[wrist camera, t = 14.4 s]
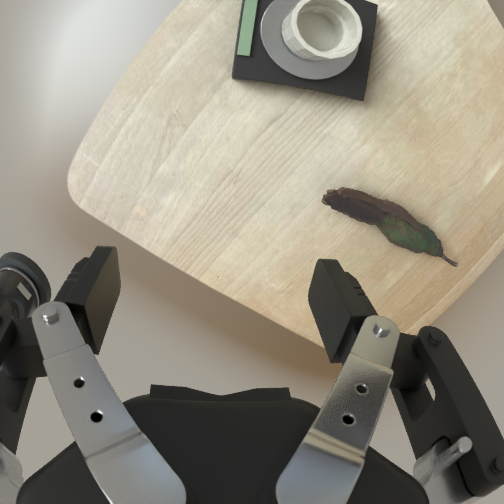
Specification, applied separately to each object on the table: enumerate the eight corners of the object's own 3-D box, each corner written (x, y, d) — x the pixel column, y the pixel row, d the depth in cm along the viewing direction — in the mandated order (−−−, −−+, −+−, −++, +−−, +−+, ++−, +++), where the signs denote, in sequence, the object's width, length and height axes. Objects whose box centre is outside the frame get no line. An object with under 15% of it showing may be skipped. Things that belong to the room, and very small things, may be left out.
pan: (253, 70, 27) (254, 70, 26) (266, -17, 22) (267, -19, 21) (349, 88, 28) (352, 88, 27) (361, 6, 23) (364, 4, 22)
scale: (231, 78, 29) (231, 78, 27) (245, -20, 23) (247, -28, 20) (354, 99, 31) (365, 101, 28) (368, 8, 25) (380, 3, 22)
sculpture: (327, 160, 35) (342, 173, 31) (461, 247, 43) (477, 263, 39) (307, 194, 37) (318, 211, 33) (444, 269, 45) (460, 287, 41)
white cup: (277, 54, 25) (287, 49, 21) (284, 0, 22) (296, -14, 18) (337, 66, 26) (357, 65, 22) (344, 14, 23) (365, 5, 18)
